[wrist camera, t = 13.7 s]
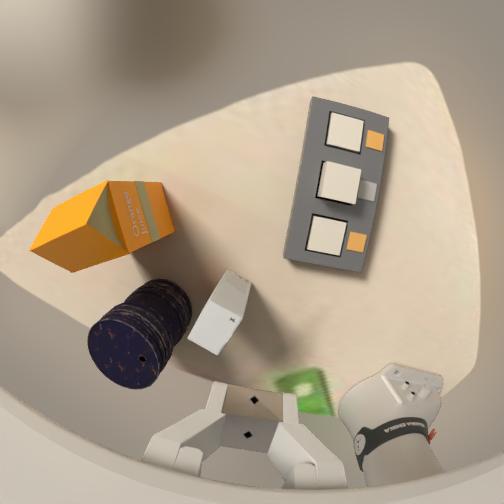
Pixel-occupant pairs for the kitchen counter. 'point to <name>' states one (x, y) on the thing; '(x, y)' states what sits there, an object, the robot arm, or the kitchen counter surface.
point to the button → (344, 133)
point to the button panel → (352, 214)
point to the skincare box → (221, 313)
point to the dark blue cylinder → (140, 334)
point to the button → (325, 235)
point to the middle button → (339, 182)
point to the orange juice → (104, 224)
